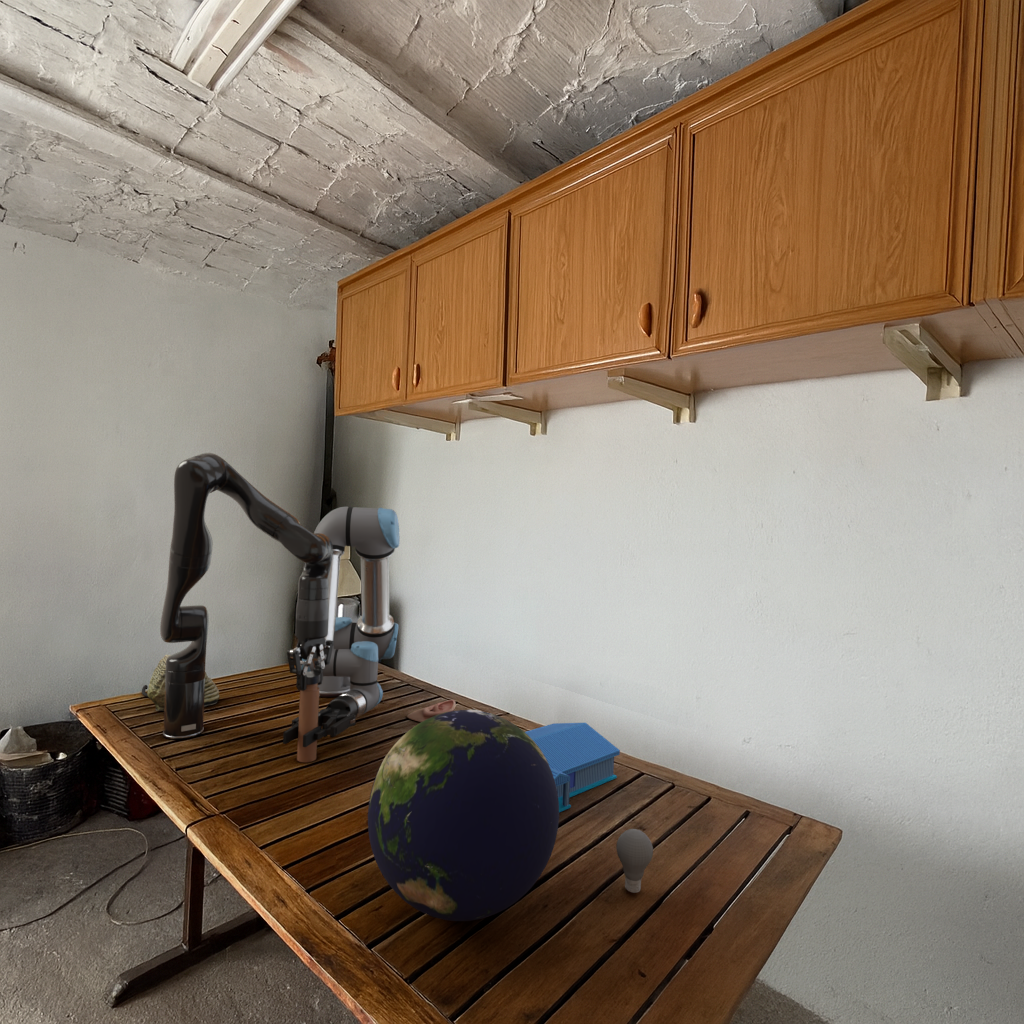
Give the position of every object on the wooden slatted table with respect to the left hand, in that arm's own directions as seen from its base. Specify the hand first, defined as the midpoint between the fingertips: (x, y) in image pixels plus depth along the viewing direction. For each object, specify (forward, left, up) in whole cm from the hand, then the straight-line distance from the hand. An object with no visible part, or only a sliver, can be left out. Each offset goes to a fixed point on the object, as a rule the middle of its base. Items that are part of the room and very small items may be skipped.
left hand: (309, 686), depth 152 cm
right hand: (+3, -5, -11) cm, 12 cm away
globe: (+66, -6, -17) cm, 69 cm away
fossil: (-56, -12, -17) cm, 59 cm away
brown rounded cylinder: (0, 0, -17) cm, 17 cm away
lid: (0, 0, +3) cm, 3 cm away
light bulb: (+82, +18, -17) cm, 86 cm away
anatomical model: (-6, +41, -17) cm, 45 cm away
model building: (+44, +32, -17) cm, 57 cm away
